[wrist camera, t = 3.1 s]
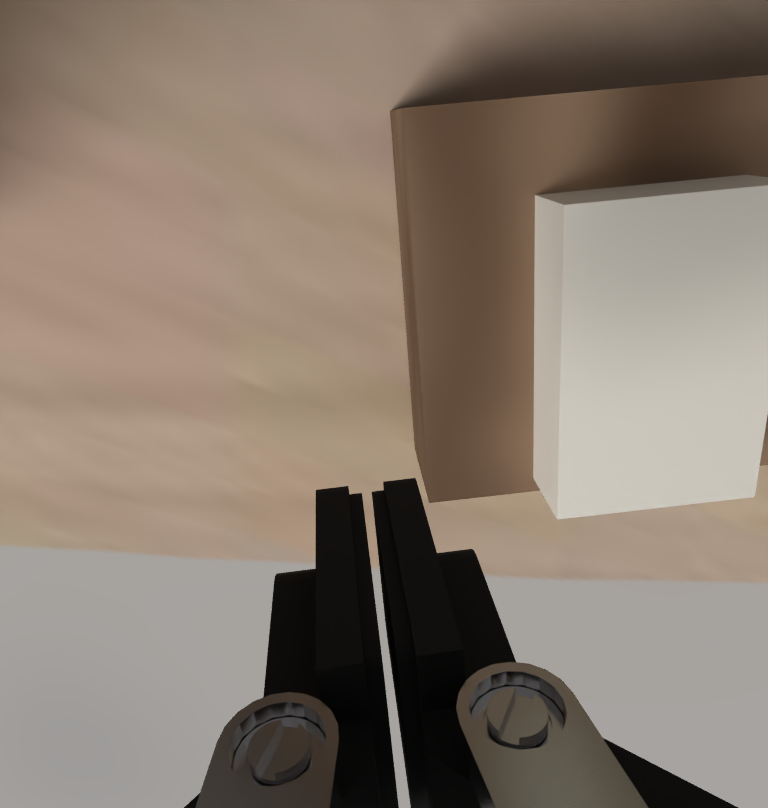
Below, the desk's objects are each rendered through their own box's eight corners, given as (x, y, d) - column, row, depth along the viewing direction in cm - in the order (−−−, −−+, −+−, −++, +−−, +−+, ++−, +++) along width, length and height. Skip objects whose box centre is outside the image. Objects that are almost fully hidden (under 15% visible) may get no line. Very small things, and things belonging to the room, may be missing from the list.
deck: (879, 66, 22) (993, 53, 18) (816, 404, 26) (895, 450, 23) (390, 110, 21) (403, 108, 17) (415, 448, 26) (429, 502, 22)
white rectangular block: (745, 174, 19) (804, 181, 16) (710, 458, 22) (754, 496, 20) (534, 195, 18) (564, 204, 16) (533, 478, 22) (557, 519, 20)
